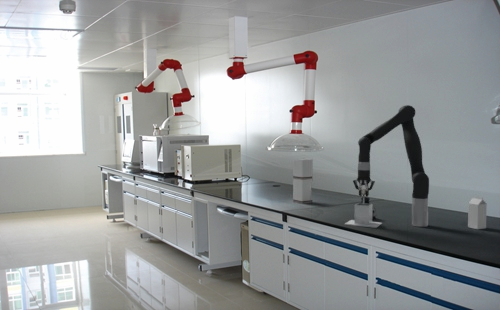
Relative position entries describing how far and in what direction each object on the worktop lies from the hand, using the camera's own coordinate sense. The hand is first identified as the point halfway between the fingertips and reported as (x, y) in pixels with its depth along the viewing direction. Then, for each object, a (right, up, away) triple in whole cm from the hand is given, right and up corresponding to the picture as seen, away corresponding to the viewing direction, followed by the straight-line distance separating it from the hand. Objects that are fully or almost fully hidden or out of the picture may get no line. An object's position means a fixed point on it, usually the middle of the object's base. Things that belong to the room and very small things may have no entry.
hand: (363, 196), depth 303 cm
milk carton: (+66, -18, -11) cm, 69 cm away
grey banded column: (-29, -13, +88) cm, 93 cm away
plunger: (0, -12, +1) cm, 12 cm away
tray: (0, -18, +1) cm, 18 cm away
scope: (+7, -17, +20) cm, 27 cm away
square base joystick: (0, -18, +1) cm, 18 cm away
